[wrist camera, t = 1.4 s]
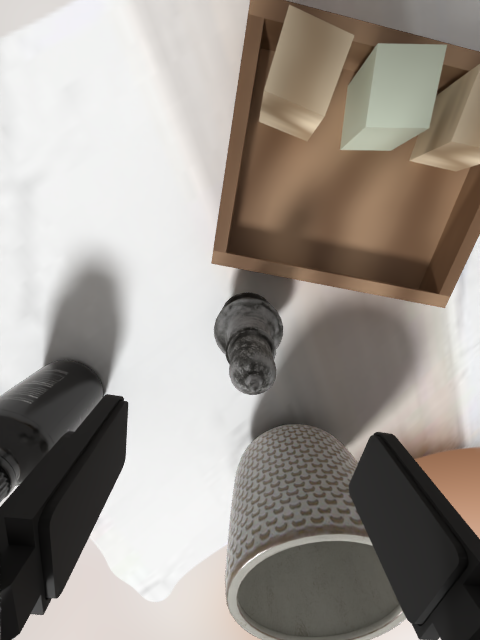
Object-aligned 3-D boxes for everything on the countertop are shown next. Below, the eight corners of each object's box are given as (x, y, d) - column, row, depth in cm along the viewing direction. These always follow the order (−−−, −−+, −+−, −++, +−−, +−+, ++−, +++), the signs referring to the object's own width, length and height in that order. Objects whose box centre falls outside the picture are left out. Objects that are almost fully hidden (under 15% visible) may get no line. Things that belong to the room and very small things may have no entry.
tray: (507, 98, 18) (555, 72, 16) (419, 299, 23) (444, 307, 20) (249, 32, 17) (251, -9, 14) (214, 260, 22) (211, 263, 19)
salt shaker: (273, 285, 23) (308, 330, 11) (279, 341, 25) (314, 429, 13) (212, 294, 23) (187, 347, 12) (222, 349, 25) (209, 441, 14)
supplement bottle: (32, 392, 26) (-125, 507, 15) (56, 345, 25) (-100, 436, 13) (90, 421, 28) (-14, 548, 16) (117, 379, 26) (22, 488, 15)
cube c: (329, 79, 17) (354, 35, 14) (307, 141, 19) (324, 116, 15) (278, 56, 17) (289, 4, 13) (258, 121, 18) (264, 90, 14)
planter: (281, 504, 32) (307, 669, 20) (206, 445, 29) (182, 598, 17) (369, 448, 29) (464, 601, 17) (296, 375, 26) (348, 498, 14)
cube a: (480, 111, 18) (544, 77, 14) (455, 171, 19) (508, 154, 16) (430, 99, 18) (482, 61, 14) (409, 160, 19) (451, 141, 15)
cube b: (402, 86, 18) (447, 44, 14) (390, 150, 19) (429, 128, 15) (347, 85, 18) (377, 43, 14) (340, 149, 19) (365, 127, 15)
